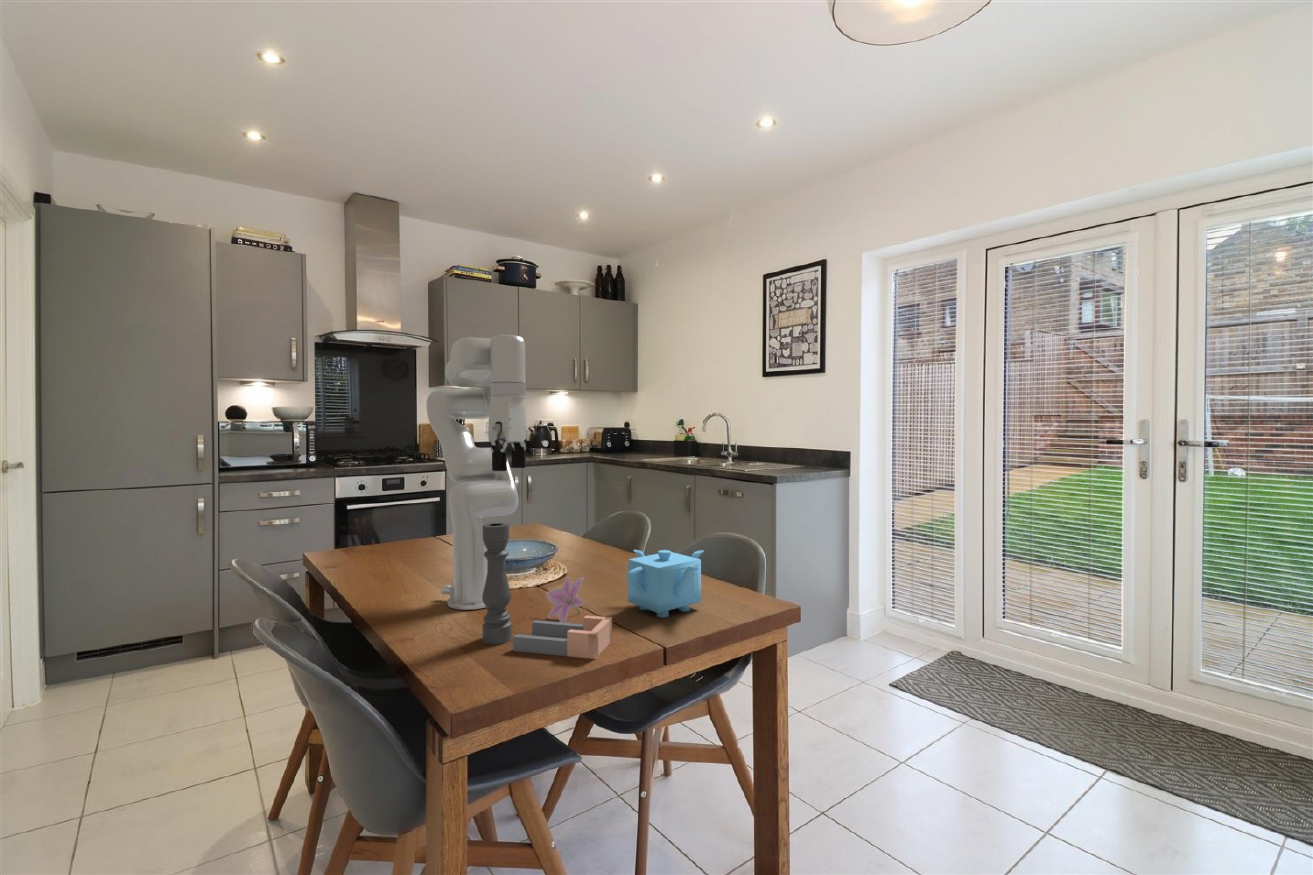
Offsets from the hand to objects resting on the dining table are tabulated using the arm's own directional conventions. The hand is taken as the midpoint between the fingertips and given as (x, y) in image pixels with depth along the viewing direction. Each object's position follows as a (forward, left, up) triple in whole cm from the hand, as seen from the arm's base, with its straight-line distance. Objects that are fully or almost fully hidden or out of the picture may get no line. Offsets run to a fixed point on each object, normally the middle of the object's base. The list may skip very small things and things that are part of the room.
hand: (509, 469), depth 135 cm
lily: (+8, +13, -37) cm, 40 cm away
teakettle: (+30, +26, -37) cm, 54 cm away
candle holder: (-1, -4, -37) cm, 37 cm away
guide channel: (+14, -4, -37) cm, 40 cm away
